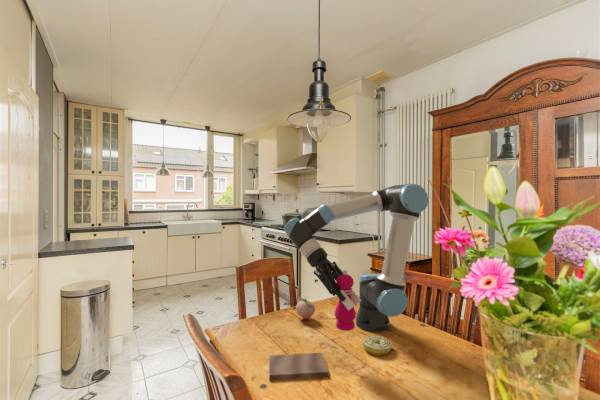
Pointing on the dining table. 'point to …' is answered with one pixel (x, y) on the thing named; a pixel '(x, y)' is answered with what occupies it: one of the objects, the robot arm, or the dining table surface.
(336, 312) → the pepper mill
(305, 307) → the decorative fruit
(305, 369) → the walnut stand
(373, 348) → the decorated donut
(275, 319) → the dining table surface
